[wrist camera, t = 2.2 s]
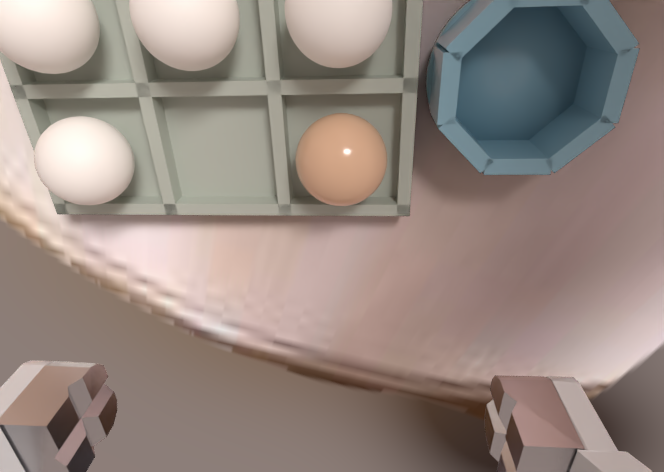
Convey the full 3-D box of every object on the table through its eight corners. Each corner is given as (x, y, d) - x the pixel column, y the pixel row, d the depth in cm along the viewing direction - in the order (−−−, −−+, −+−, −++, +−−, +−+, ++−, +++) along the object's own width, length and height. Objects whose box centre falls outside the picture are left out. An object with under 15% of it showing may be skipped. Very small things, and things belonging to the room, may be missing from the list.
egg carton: (424, -89, 19) (441, -114, 15) (407, 202, 26) (415, 247, 22) (-18, -68, 21) (-127, -85, 16) (75, 201, 28) (16, 243, 23)
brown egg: (386, 102, 23) (391, 126, 19) (384, 185, 25) (387, 222, 21) (299, 104, 23) (284, 127, 19) (304, 185, 25) (292, 221, 21)
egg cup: (619, -24, 20) (666, -27, 17) (575, 154, 24) (606, 178, 21) (432, -18, 21) (444, -19, 18) (420, 155, 25) (428, 178, 22)
